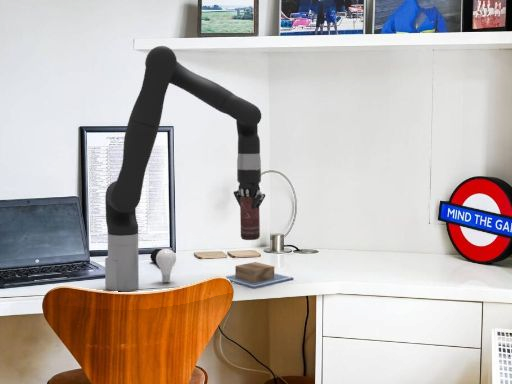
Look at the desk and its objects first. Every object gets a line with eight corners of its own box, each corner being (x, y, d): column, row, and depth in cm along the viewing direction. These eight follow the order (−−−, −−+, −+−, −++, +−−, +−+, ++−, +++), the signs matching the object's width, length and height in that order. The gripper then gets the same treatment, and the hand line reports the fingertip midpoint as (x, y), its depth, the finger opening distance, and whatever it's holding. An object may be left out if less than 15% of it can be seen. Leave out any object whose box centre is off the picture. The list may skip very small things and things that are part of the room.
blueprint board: (254, 288, 208) (254, 286, 208) (220, 279, 220) (220, 277, 219) (293, 279, 221) (293, 277, 220) (259, 271, 232) (259, 269, 232)
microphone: (173, 282, 228) (161, 262, 246) (178, 266, 227) (166, 248, 245) (158, 278, 226) (147, 259, 244) (163, 263, 225) (152, 244, 243)
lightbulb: (161, 286, 210) (161, 251, 209) (152, 282, 215) (152, 248, 214) (179, 283, 213) (179, 249, 212) (170, 279, 219) (170, 246, 217)
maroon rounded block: (258, 240, 212) (258, 196, 210) (239, 240, 213) (238, 196, 211) (262, 236, 218) (261, 194, 216) (243, 236, 219) (242, 194, 217)
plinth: (254, 282, 213) (254, 270, 213) (235, 277, 219) (235, 265, 219) (274, 278, 219) (274, 266, 219) (255, 273, 226) (255, 262, 225)
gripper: (226, 167, 215) (226, 220, 217) (254, 169, 205) (254, 225, 207) (243, 165, 220) (244, 217, 222) (272, 168, 210) (272, 222, 212)
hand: (249, 221), depth 215 cm, fingers closed
